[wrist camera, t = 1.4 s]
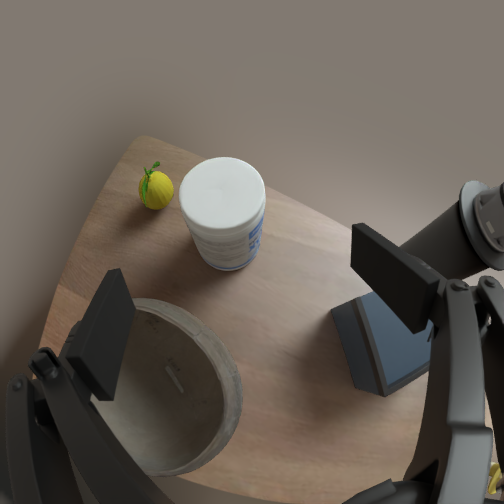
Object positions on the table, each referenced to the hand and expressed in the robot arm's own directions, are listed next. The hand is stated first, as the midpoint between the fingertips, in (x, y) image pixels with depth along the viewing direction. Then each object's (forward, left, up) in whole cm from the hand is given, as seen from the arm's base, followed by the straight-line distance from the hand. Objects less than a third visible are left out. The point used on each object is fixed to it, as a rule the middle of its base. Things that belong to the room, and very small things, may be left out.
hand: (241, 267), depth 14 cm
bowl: (+13, +7, -25) cm, 29 cm away
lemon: (+8, -21, -25) cm, 34 cm away
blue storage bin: (-19, +10, -25) cm, 33 cm away
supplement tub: (-1, -11, -25) cm, 28 cm away
